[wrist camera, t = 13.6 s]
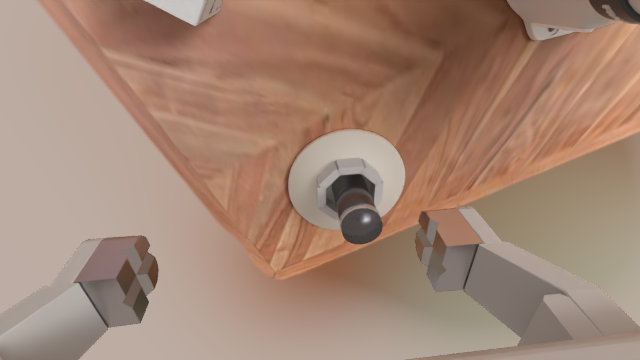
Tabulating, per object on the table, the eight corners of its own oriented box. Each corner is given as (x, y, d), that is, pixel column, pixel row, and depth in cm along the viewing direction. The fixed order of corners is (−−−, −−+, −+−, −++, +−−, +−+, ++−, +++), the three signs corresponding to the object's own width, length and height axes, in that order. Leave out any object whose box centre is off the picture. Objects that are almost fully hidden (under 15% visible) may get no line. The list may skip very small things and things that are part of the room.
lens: (366, 169, 48) (384, 210, 40) (365, 198, 51) (381, 242, 43) (330, 171, 48) (341, 214, 39) (331, 201, 51) (341, 246, 42)
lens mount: (409, 124, 46) (418, 134, 43) (396, 221, 56) (403, 235, 53) (283, 133, 45) (283, 144, 42) (292, 230, 55) (293, 245, 52)
